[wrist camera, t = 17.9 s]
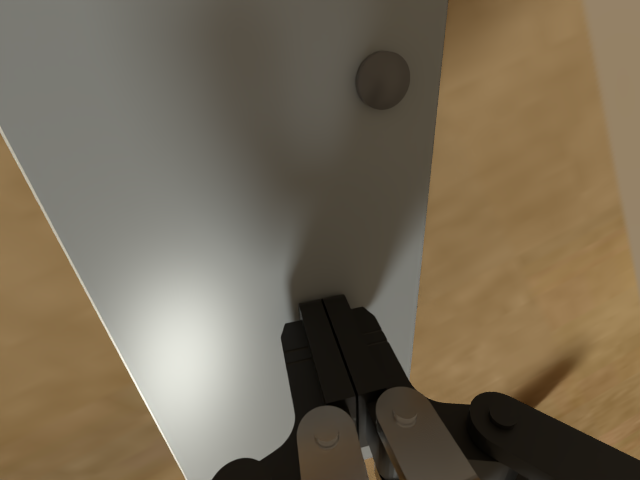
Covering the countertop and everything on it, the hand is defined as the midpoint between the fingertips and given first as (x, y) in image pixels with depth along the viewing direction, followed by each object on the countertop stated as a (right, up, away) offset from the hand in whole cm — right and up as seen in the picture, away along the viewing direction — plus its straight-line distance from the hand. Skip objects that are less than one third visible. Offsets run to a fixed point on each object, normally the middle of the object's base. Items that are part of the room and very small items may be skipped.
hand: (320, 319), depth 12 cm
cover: (-1, 0, 0) cm, 2 cm away
